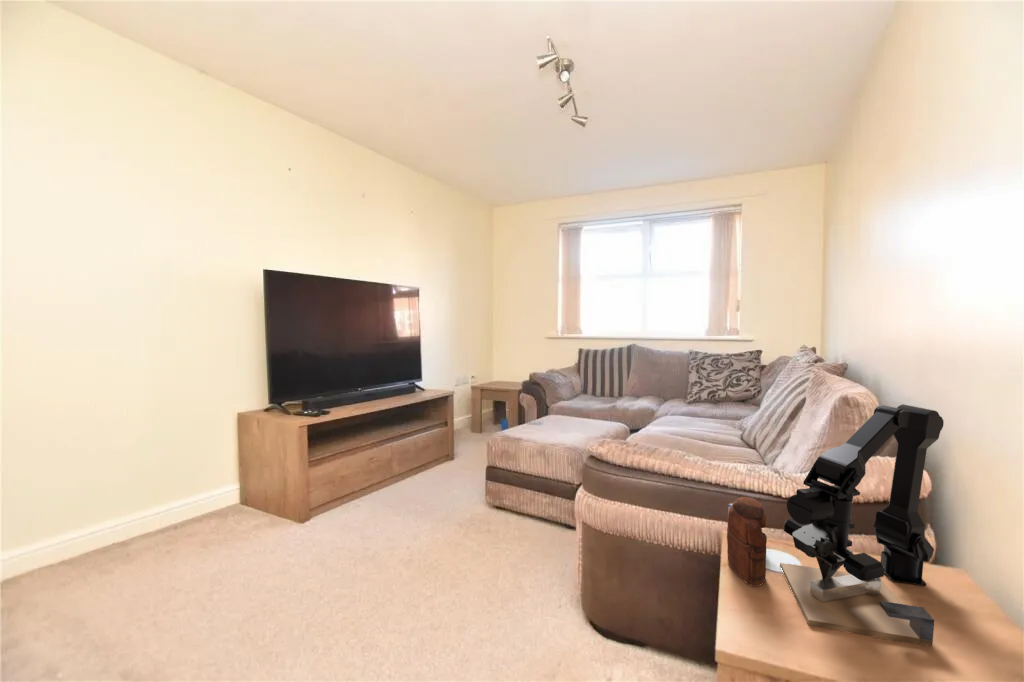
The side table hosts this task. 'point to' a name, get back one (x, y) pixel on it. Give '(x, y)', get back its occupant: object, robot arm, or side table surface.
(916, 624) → the keeper
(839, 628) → the board
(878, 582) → the link
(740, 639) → the side table surface
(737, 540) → the brown wooden carving
